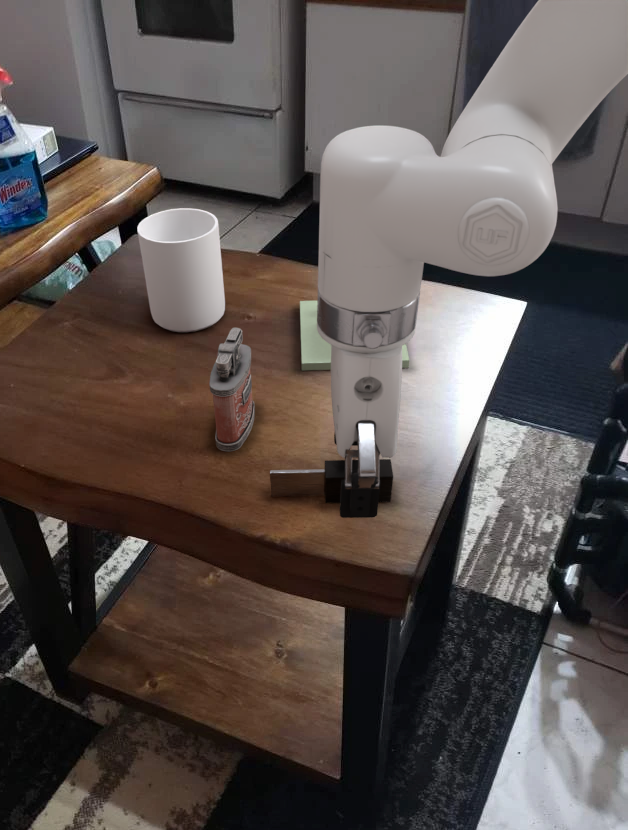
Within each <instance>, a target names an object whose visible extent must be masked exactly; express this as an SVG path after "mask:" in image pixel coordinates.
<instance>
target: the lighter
mask: <svg viewBox="0 0 628 830" xmlns="http://www.w3.org/2000/svg"><path fill="white" fill-rule="evenodd" d="M243 337H244V336H243V330H242V329H241V327H232V328H231V329H230V330H229V332H228V335H227V337H226V339H225V341H224V343H219V345H218V349H217V358H216V360H215V362H214V363H213V365H212V369H211V372H210V376H209V383H208V384H209V391H210V393H211V394H212V400H213V401H212V402H213V411H214V419H215V445H216V447H217V449H218V450H220V451H223V452H234V451H237V450H239V449H240V448H241V447H242V446H243V444H244V443H245V442H246V440H247V439H248V437H249V435H250V433H251V431H252V430H253V425H254V421H255V411H256V410H255V409H256V407H255V401H254V400H253V391H252V387H253V384H252V374H251V365H252V349H251V347H250V346H249V345H247V344H243V340H244V338H243Z"/></svg>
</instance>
